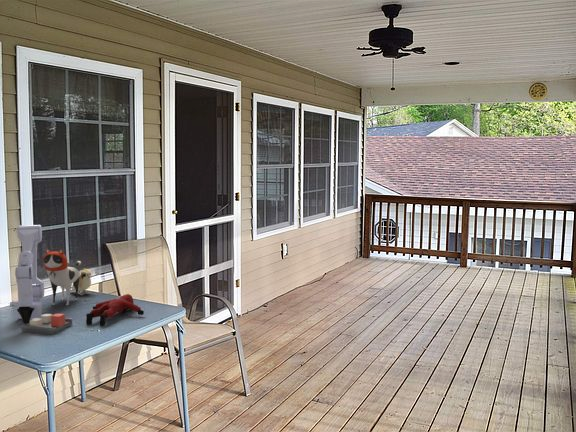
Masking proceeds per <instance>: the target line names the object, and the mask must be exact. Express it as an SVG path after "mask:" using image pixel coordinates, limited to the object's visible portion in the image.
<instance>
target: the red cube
mask: <svg viewBox="0 0 576 432" xmlns="http://www.w3.org/2000/svg"><path fill="white" fill-rule="evenodd" d="M65 318H66V314H65V313H54V314H53V315H52V316H51V326H58V327H60V326H62V325H64V324H65Z"/></svg>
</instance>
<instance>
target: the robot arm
mask: <svg viewBox="0 0 576 432" xmlns="http://www.w3.org/2000/svg"><path fill="white" fill-rule="evenodd" d="M16 235H17V238H18V240H19V241H20V243H21V244H22V245H21V246H22V249H21V252H19V254H18V261H17V267H15V270H14V271H15V272H14V273H15V274H14V275H15V279H16V282H15V283H16V284H17V301H13V300H12V301H10V302H9V307H10V308H12V307H14V308H15V307H16V308H17V309H16V310H17V311H16V312H18V317H17V319H18V320H22V323H23V325H29V324H30V320H32V319H34V318H40V319H41V316H42V315H44V314H45V313H44V314H42V313H43V312H42V310H43V308H42V307H43V306H42V303H43V302H42V298H44V297H45V284H44V281H43V280H42V279H40V278H39V277H38V245H39V243H41V242H42V241H43V227H42V225H41V224H32V225H30V224H29V225H27V224H26V225H25V224H24V225H23V224H22V225H20V224H19V225H18V226H17V234H16Z"/></svg>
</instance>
